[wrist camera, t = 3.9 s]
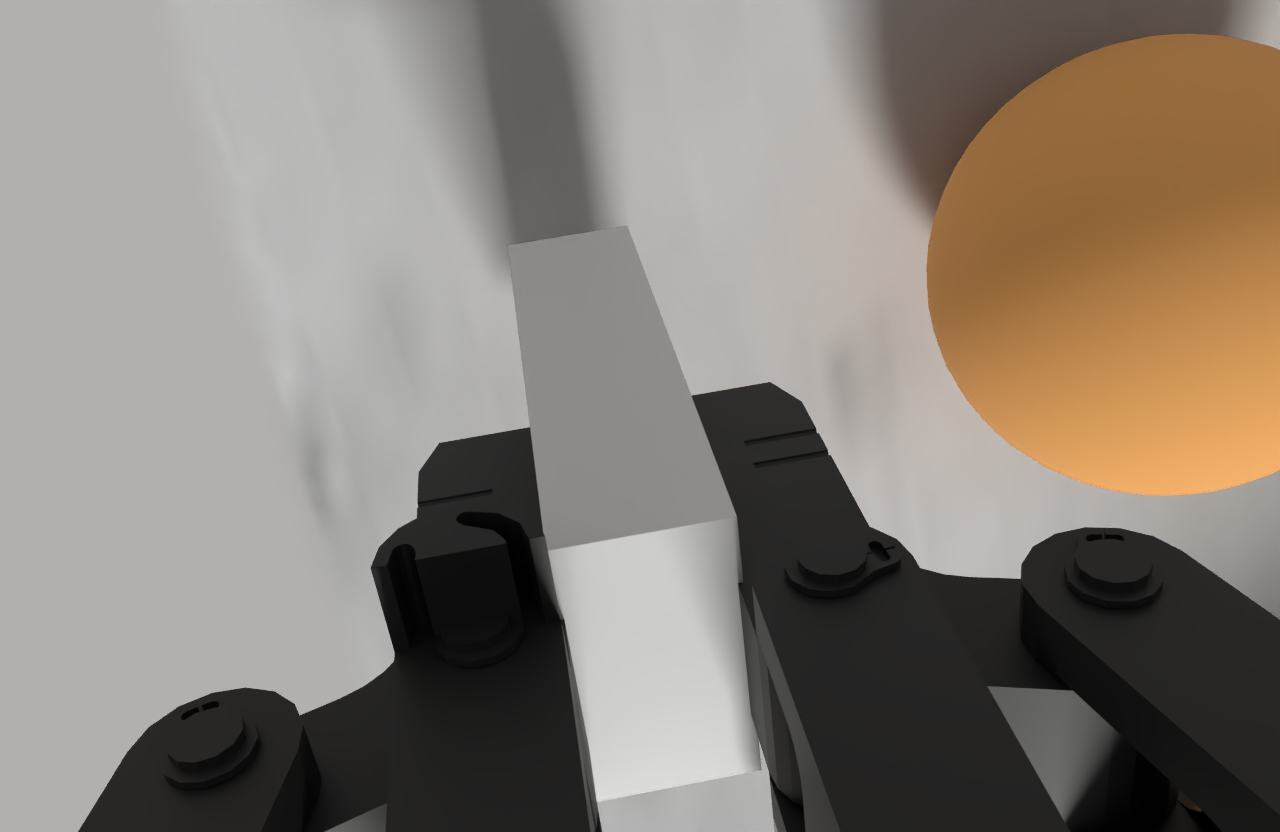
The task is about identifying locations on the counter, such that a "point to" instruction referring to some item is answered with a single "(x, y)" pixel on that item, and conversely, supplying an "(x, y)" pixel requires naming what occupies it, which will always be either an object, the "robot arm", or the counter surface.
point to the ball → (1123, 266)
